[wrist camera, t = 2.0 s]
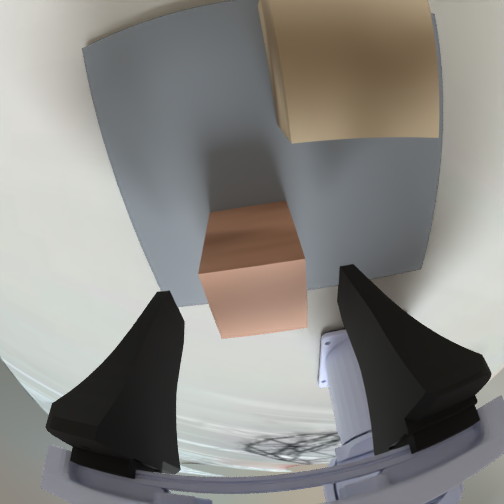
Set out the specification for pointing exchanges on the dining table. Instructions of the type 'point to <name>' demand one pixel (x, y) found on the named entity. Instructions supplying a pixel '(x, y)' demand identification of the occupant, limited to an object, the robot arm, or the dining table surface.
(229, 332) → the terracotta block
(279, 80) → the oak block
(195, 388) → the dining table surface
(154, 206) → the slate board
